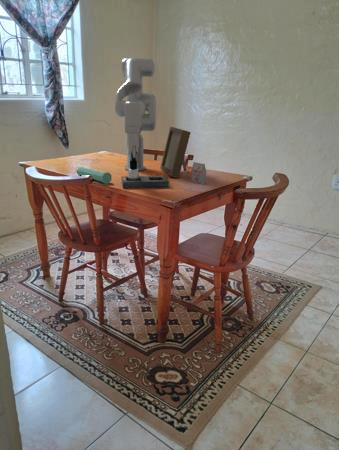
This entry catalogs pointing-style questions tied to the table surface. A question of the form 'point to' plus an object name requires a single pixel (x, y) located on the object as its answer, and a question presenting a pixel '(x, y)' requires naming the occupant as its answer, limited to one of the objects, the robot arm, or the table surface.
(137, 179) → the bushing
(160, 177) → the block
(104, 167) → the table surface
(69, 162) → the table surface
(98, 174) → the container
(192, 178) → the grey upright block
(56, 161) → the table surface
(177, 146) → the photo frame
